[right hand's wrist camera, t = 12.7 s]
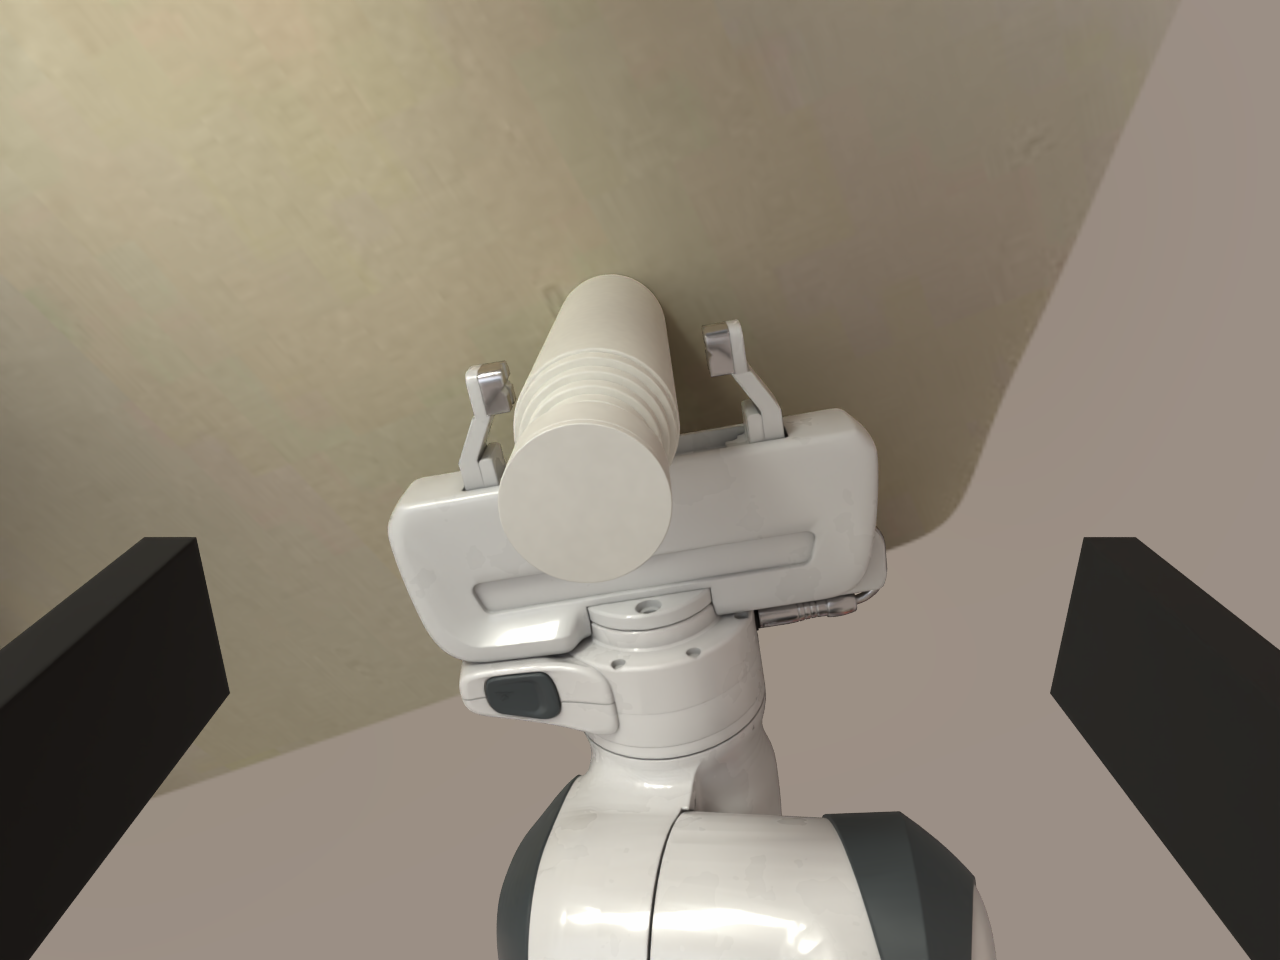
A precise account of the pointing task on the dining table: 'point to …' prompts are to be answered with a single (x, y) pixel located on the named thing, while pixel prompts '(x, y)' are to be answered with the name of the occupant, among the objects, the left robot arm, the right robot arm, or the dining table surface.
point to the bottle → (606, 358)
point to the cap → (586, 493)
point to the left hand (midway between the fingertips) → (602, 345)
